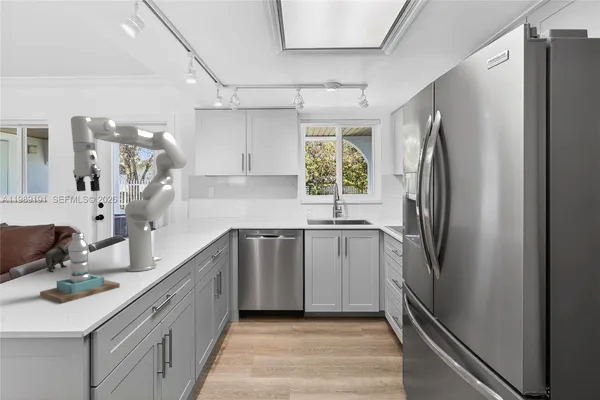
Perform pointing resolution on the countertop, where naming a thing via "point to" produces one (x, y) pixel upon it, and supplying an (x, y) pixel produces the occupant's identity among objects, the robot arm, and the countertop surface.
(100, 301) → the countertop surface
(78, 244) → the silver aluminum bottle
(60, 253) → the dinosaur figurine
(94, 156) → the robot arm
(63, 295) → the walnut jig board
